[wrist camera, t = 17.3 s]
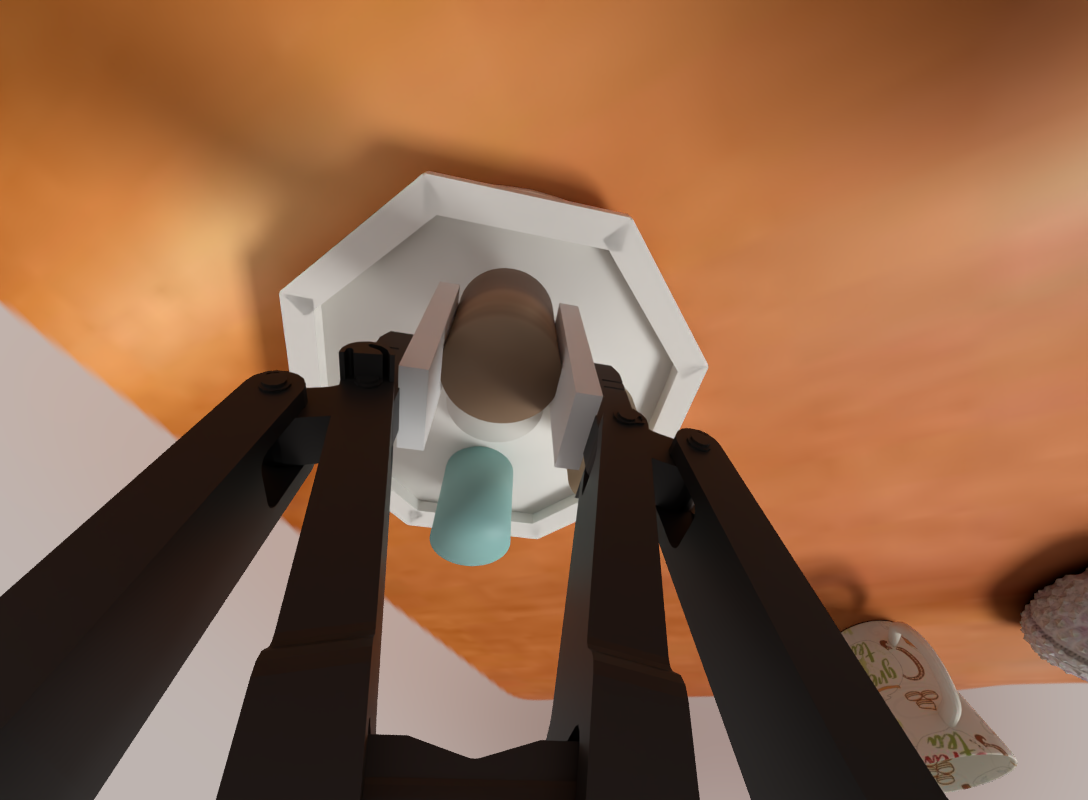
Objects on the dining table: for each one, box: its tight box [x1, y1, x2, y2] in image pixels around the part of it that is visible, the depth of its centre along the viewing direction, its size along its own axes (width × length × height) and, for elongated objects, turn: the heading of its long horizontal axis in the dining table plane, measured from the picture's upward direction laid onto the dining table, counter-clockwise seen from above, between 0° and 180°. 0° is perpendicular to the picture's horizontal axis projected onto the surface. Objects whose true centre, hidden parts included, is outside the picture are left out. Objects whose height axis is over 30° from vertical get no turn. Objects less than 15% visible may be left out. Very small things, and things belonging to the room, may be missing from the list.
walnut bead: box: [441, 268, 562, 423], centre depth 16 cm, size 4×4×5 cm
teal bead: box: [430, 446, 513, 566], centre depth 24 cm, size 4×4×5 cm
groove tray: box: [279, 171, 708, 539], centre depth 23 cm, size 20×20×2 cm
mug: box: [841, 621, 1017, 793], centre depth 35 cm, size 8×13×10 cm, turn 16°
